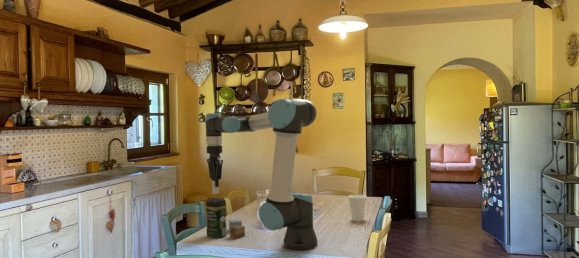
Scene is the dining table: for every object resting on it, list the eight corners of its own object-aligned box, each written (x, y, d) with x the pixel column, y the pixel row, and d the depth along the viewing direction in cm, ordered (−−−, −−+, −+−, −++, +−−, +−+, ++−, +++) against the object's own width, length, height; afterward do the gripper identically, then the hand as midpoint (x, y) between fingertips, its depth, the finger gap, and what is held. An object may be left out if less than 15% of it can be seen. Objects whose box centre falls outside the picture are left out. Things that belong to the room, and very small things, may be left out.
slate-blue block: (241, 230, 203) (241, 221, 203) (232, 232, 200) (232, 222, 200) (238, 228, 207) (238, 219, 207) (229, 229, 205) (229, 220, 205)
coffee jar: (203, 236, 194) (202, 198, 193) (215, 232, 200) (214, 195, 200) (218, 239, 188) (217, 200, 188) (229, 235, 195) (228, 197, 194)
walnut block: (244, 236, 192) (244, 226, 192) (237, 239, 188) (237, 228, 188) (237, 234, 195) (237, 224, 195) (230, 237, 192) (229, 227, 191)
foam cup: (369, 219, 219) (369, 195, 218) (360, 222, 212) (359, 198, 212) (355, 216, 225) (354, 194, 225) (345, 220, 218) (345, 196, 218)
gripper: (201, 145, 196) (203, 192, 197) (213, 146, 186) (214, 196, 186) (215, 144, 201) (216, 191, 201) (227, 145, 190) (229, 194, 191)
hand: (215, 193), depth 194 cm, fingers closed
